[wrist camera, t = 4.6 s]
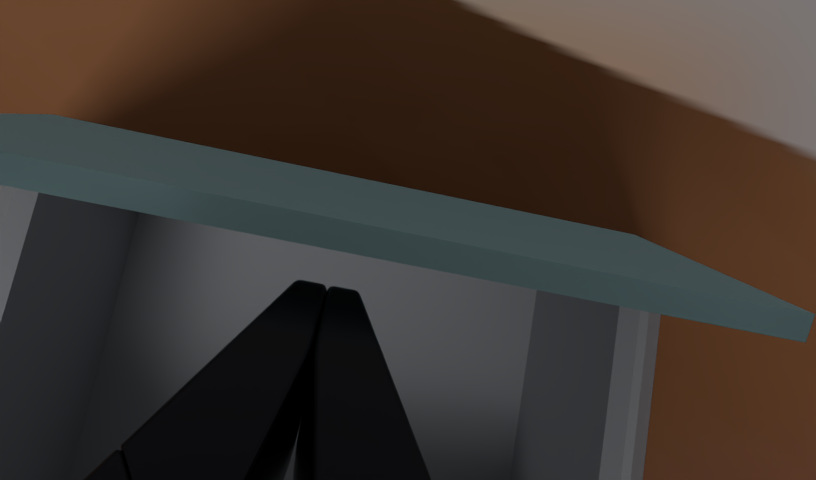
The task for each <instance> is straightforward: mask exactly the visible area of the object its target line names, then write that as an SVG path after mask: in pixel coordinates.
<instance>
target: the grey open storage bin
mask: <svg viewBox="0 0 816 480" xmlns="http://www.w3.org/2000/svg"><path fill="white" fill-rule="evenodd" d="M296 280H305V281H310V282H316V283H321V284H324V285H325V286H326V288H327V289H328V288H329V287H330V286H337V287H342V288H347V289H353V290H356V291H358V292H359V294H360V296H361V298H362V300H363V303H364V306H365V308H366V311H367V313H368V316H369V319H370V321H371V324H372V326H373V329H374V332H375V334H376V337H377V339H378V342H379V345H380V347H381V350H382V352H383V355H384V358H385V360H386V363H387V365H388V368H389V371H390V373H391V376H392V378H393V381H394V384H395V386H396V389H397V391H398V394H399V397H400V399H401V402H402V404H403V407H404V410H405V412H406V415H407V417H408V420H409V423H410V425H411V428H412V430H413V433H414V436H415V438H416V441H417V443H418V446H419V449H420V451H421V454H422V456H423V459H424V462H425V464H426V467H427V469H428V472H429V475H430V477H431V480H643V473H644V464H645V455H646V445H647V436H648V427H649V418H650V409H651V400H652V390H653V381H654V372H655V363H656V354H657V345H658V335H659V326H660V317H661V314H657V313H652V312H647V311H642V310H637V309H632V308H627V307H622V306H616V305H611V304H606V303H601V302H596V301H591V300H586V299H581V298H576V297H570V296H565V295H560V294H555V293H550V292H545V291H540V290H535V289H530V288H524V287H519V286H514V285H509V284H504V283H499V282H494V281H489V280H484V279H478V278H473V277H468V276H463V275H458V274H453V273H448V272H443V271H438V270H432V269H427V268H422V267H417V266H412V265H407V264H402V263H397V262H392V261H387V260H381V259H376V258H371V257H366V256H361V255H356V254H351V253H346V252H341V251H335V250H330V249H325V248H320V247H315V246H310V245H305V244H300V243H295V242H289V241H284V240H279V239H274V238H269V237H264V236H259V235H254V234H249V233H243V232H238V231H233V230H228V229H223V228H218V227H213V226H208V225H203V224H197V223H192V222H187V221H182V220H177V219H172V218H167V217H162V216H157V215H151V214H146V213H141V212H136V211H131V210H126V209H121V208H116V207H111V206H106V205H100V204H95V203H90V202H85V201H80V200H75V199H70V198H65V197H60V196H54V195H49V194H44V193H39V192H34V191H29V190H24V189H19V188H14V187H8V186H3V185H0V480H83V479H84V478H85V477H87V476H88V475H89V474H90V473H91V472H92V471H93V470H94V469H95V468H96V467H97V466H98V465H99V464H100V463H101V462H103V461H104V460H105V459H106V458H107V457H108V456H109V455H110V454H111V453H112V452H113V451H114V450H120V446H121V444H122V443H123V442H124V441H125V440H126V439H127V438H128V437H130V436H131V435H132V434H133V433H134V432H135V431H136V430H137V429H138V428H139V427H140V426H141V425H142V424H143V423H144V422H145V421H147V420H148V419H149V418H150V417H151V416H152V415H153V414H154V413H155V412H156V411H157V410H158V409H159V408H160V407H161V406H162V405H164V404H165V403H166V402H167V401H168V400H169V399H170V398H171V397H172V396H173V395H174V394H175V393H176V392H177V391H178V390H180V389H181V388H182V387H183V386H184V385H185V384H186V383H187V382H188V381H189V380H190V379H191V378H192V377H193V376H194V375H195V374H197V373H198V372H199V371H200V370H201V369H202V368H203V367H204V366H205V365H206V364H207V363H208V362H209V361H210V360H211V359H212V358H214V357H215V356H216V355H217V354H218V353H219V352H220V351H221V350H222V349H223V348H224V347H225V346H226V345H227V344H228V343H229V342H231V341H232V340H233V339H234V338H235V337H236V336H237V335H238V334H239V333H240V332H241V331H242V330H243V329H244V328H245V327H246V326H248V325H249V324H250V323H251V322H252V321H253V320H254V319H255V318H256V317H257V316H258V315H259V314H260V313H261V312H262V311H264V310H265V309H266V308H267V307H268V306H269V305H270V304H271V303H272V302H273V301H274V300H275V299H276V298H277V297H278V296H279V295H281V294H282V293H283V292H284V291H285V290H286V289H287V288H288V287H289V286H290V285H291V284H292V283H293V282H295V281H296ZM299 428H300V426H299ZM298 433H299V431H298ZM297 439H298V435H297ZM297 439H296V443H295V447H294V450H293V453H292V456H291V460H290V463H289V466H288V469H287V471H286V474H285V477H284V480H293V472H294V461H295V452H296V445H297Z"/></svg>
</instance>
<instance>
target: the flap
mask: <svg viewBox="0 0 816 480" xmlns="http://www.w3.org/2000/svg"><path fill="white" fill-rule="evenodd" d="M0 185H3V186H8V187H14V188H19V189H24V190H29V191H34V192H39V193H44V194H49V195H54V196H60V197H65V198H70V199H75V200H80V201H85V202H90V203H95V204H100V205H106V206H111V207H116V208H121V209H126V210H131V211H136V212H141V213H146V214H151V215H157V216H162V217H167V218H172V219H177V220H182V221H187V222H192V223H197V224H203V225H208V226H213V227H218V228H223V229H228V230H233V231H238V232H243V233H249V234H254V235H259V236H264V237H269V238H274V239H279V240H284V241H289V242H295V243H300V244H305V245H310V246H315V247H320V248H325V249H330V250H335V251H341V252H346V253H351V254H356V255H361V256H366V257H371V258H376V259H381V260H387V261H392V262H397V263H402V264H407V265H412V266H417V267H422V268H427V269H432V270H438V271H443V272H448V273H453V274H458V275H463V276H468V277H473V278H478V279H484V280H489V281H494V282H499V283H504V284H509V285H514V286H519V287H524V288H530V289H535V290H540V291H545V292H550V293H555V294H560V295H565V296H570V297H576V298H581V299H586V300H591V301H596V302H601V303H606V304H611V305H616V306H622V307H627V308H632V309H637V310H642V311H647V312H652V313H657V314H662V315H668V316H673V317H678V318H683V319H688V320H693V321H698V322H703V323H708V324H713V325H719V326H724V327H729V328H734V329H739V330H744V331H749V332H754V333H759V334H765V335H770V336H775V337H780V338H785V339H790V340H795V341H800V342H805V343H806V340H807V337H808V334H809V331H810V328H811V325H812V322H813V319H814V316H815V314H813V313H811V312H809V311H806V310H804V309H802V308H800V307H797V306H795V305H793V304H790V303H788V302H786V301H784V300H781V299H779V298H777V297H775V296H772V295H770V294H768V293H766V292H763V291H761V290H759V289H757V288H754V287H752V286H750V285H747V284H745V283H743V282H741V281H738V280H736V279H734V278H732V277H729V276H727V275H725V274H723V273H720V272H718V271H716V270H713V269H711V268H709V267H707V266H704V265H702V264H700V263H698V262H695V261H693V260H691V259H689V258H686V257H684V256H682V255H680V254H677V253H675V252H673V251H670V250H668V249H666V248H664V247H661V246H659V245H657V244H655V243H652V242H650V241H648V240H646V239H643V238H641V237H639V236H637V235H634V234H629V233H624V232H620V231H615V230H610V229H605V228H600V227H595V226H590V225H586V224H581V223H576V222H571V221H566V220H561V219H557V218H552V217H547V216H542V215H537V214H532V213H528V212H523V211H518V210H513V209H508V208H503V207H498V206H494V205H489V204H484V203H479V202H474V201H469V200H465V199H460V198H455V197H450V196H445V195H440V194H435V193H431V192H426V191H421V190H416V189H411V188H406V187H402V186H397V185H392V184H387V183H382V182H377V181H373V180H368V179H363V178H358V177H353V176H348V175H343V174H339V173H334V172H329V171H324V170H319V169H314V168H310V167H305V166H300V165H295V164H290V163H285V162H280V161H276V160H271V159H266V158H261V157H256V156H251V155H247V154H242V153H237V152H232V151H227V150H222V149H218V148H213V147H208V146H203V145H198V144H193V143H188V142H184V141H179V140H174V139H169V138H164V137H159V136H155V135H150V134H145V133H140V132H135V131H130V130H125V129H121V128H116V127H111V126H106V125H101V124H96V123H92V122H87V121H82V120H77V119H72V118H67V117H63V116H58V115H49V114H0Z"/></svg>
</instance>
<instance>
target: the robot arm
mask: <svg viewBox="0 0 816 480" xmlns="http://www.w3.org/2000/svg"><path fill="white" fill-rule="evenodd" d="M299 426H300V428H299ZM298 431H299V433H298ZM297 435H298V439H297ZM296 439H297V445H296V452H295V461H294V472H293V480H431V477H430V475H429V472H428V469H427V467H426V464H425V462H424V459H423V456H422V454H421V451H420V449H419V446H418V443H417V441H416V438H415V436H414V433H413V430H412V428H411V425H410V423H409V420H408V417H407V415H406V412H405V410H404V407H403V404H402V402H401V399H400V397H399V394H398V391H397V389H396V386H395V384H394V381H393V378H392V376H391V373H390V371H389V368H388V365H387V363H386V360H385V358H384V355H383V352H382V350H381V347H380V345H379V342H378V339H377V337H376V334H375V332H374V329H373V326H372V324H371V321H370V319H369V316H368V313H367V311H366V308H365V306H364V303H363V300H362V298H361V296H360V294H359V292H358V291H356V290H353V289H347V288H342V287H337V286H330V287H329V288H328V289H327V288H326V286H325V285H324V284H321V283H316V282H310V281H305V280H296V281H295V282H293V283H292V284H291V285H290V286H289V287H288V288H287V289H286V290H285V291H284V292H283V293H282V294H281V295H279V296H278V297H277V298H276V299H275V300H274V301H273V302H272V303H271V304H270V305H269V306H268V307H267V308H266V309H265V310H264V311H262V312H261V313H260V314H259V315H258V316H257V317H256V318H255V319H254V320H253V321H252V322H251V323H250V324H249V325H248V326H246V327H245V328H244V329H243V330H242V331H241V332H240V333H239V334H238V335H237V336H236V337H235V338H234V339H233V340H232V341H231V342H229V343H228V344H227V345H226V346H225V347H224V348H223V349H222V350H221V351H220V352H219V353H218V354H217V355H216V356H215V357H214V358H212V359H211V360H210V361H209V362H208V363H207V364H206V365H205V366H204V367H203V368H202V369H201V370H200V371H199V372H198V373H197V374H195V375H194V376H193V377H192V378H191V379H190V380H189V381H188V382H187V383H186V384H185V385H184V386H183V387H182V388H181V389H180V390H178V391H177V392H176V393H175V394H174V395H173V396H172V397H171V398H170V399H169V400H168V401H167V402H166V403H165V404H164V405H162V406H161V407H160V408H159V409H158V410H157V411H156V412H155V413H154V414H153V415H152V416H151V417H150V418H149V419H148V420H147V421H145V422H144V423H143V424H142V425H141V426H140V427H139V428H138V429H137V430H136V431H135V432H134V433H133V434H132V435H131V436H130V437H128V438H127V439H126V440H125V441H124V442H123V443H122V444H121V446H120V450H114V451H113V452H112V453H111V454H110V455H109V456H108V457H107V458H106V459H105V460H104V461H103V462H101V463H100V464H99V465H98V466H97V467H96V468H95V469H94V470H93V471H92V472H91V473H90V474H89V475H88V476H87V477H85V478H84V479H83V480H284V477H285V474H286V471H287V469H288V466H289V463H290V460H291V456H292V453H293V450H294V447H295V443H296Z"/></svg>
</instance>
